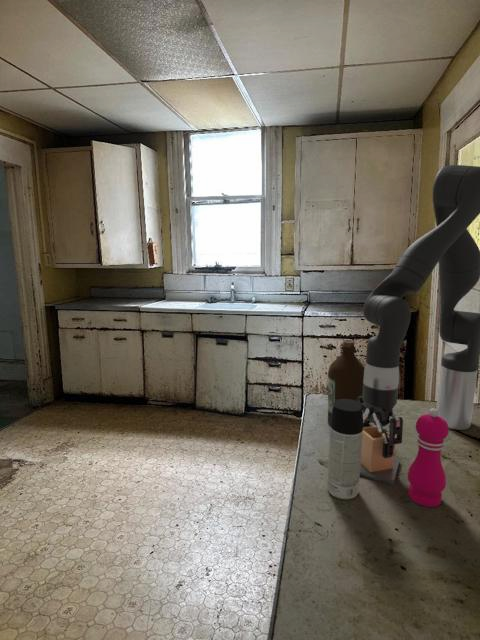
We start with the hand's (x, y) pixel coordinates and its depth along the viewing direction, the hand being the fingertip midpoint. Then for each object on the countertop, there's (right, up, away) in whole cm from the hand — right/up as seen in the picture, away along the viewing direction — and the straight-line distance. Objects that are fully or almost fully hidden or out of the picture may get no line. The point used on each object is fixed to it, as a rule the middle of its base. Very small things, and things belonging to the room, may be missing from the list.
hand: (375, 447), depth 93 cm
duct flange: (0, -5, +1) cm, 5 cm away
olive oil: (-1, -1, +23) cm, 23 cm away
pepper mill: (+7, -7, -10) cm, 14 cm away
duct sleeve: (0, -4, +1) cm, 4 cm away
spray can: (-10, -7, -8) cm, 14 cm away
